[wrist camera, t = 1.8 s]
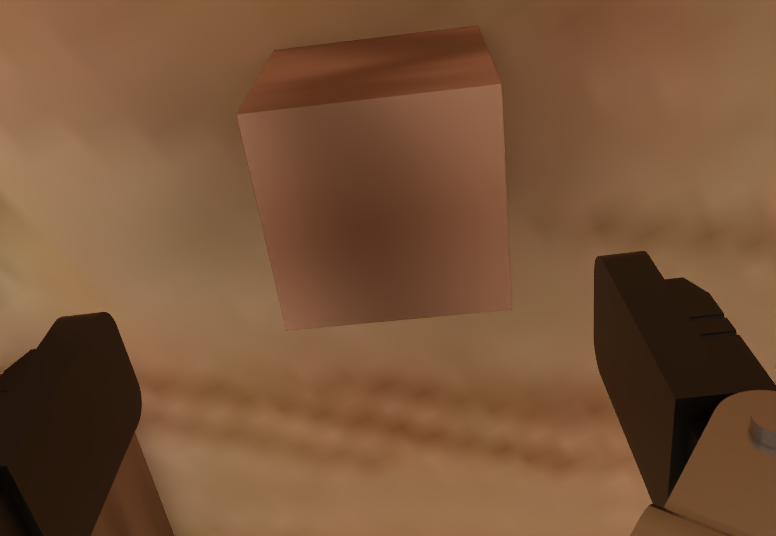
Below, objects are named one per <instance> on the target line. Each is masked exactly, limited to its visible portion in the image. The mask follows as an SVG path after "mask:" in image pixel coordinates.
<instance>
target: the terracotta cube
mask: <svg viewBox="0 0 776 536" xmlns="http://www.w3.org/2000/svg"><path fill="white" fill-rule="evenodd" d="M237 119H238V123H239V127H240V132H241V136H242V140H243V145H244V149H245V153H246V158H247V162H248V166H249V171H250V175H251V179H252V184H253V188H254V192H255V197H256V201H257V205H258V210H259V214H260V218H261V223H262V227H263V231H264V236H265V240H266V244H267V249H268V253H269V257H270V262H271V266H272V270H273V275H274V279H275V283H276V288H277V292H278V296H279V301H280V305H281V309H282V314H283V318H284V322H285V327H286V331H288V330H299V329H309V328H320V327H331V326H341V325H352V324H363V323H373V322H384V321H395V320H405V319H416V318H427V317H438V316H448V315H459V314H470V313H480V312H491V311H502V310H512V299H511V277H510V255H509V233H508V211H507V190H506V168H505V146H504V124H503V102H502V83H501V81H500V79H499V76H498V74H497V71H496V69H495V67H494V64H493V62H492V59H491V57H490V55H489V52H488V50H487V47H486V45H485V43H484V40H483V38H482V35H481V33H480V31H479V28H478V26H471V27H462V28H454V29H446V30H437V31H429V32H421V33H413V34H404V35H396V36H388V37H379V38H371V39H363V40H355V41H346V42H338V43H330V44H321V45H313V46H305V47H297V48H288V49H280V50H274V52H273V54H272V55H271V57H270V59H269V60H268V62H267V64H266V65H265V67H264V69H263V71H262V72H261V74H260V76H259V77H258V79H257V81H256V82H255V84H254V86H253V87H252V89H251V91H250V93H249V94H248V96H247V98H246V99H245V101H244V103H243V104H242V106H241V108H240V109H239V111H238V113H237Z"/></svg>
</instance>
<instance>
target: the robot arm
mask: <svg viewBox="0 0 776 536" xmlns="http://www.w3.org/2000/svg"><path fill="white" fill-rule="evenodd" d="M594 347H595V354H596V360H597V365H598V369H599V372H600V375H601V377H602V380H603V382H604V385H605V387H606V390H607V392H608V394H609V397H610V399H611V402H612V404H613V407H614V409H615V412H616V414H617V417H618V419H619V421H620V424H621V426H622V429H623V431H624V434H625V436H626V439H627V441H628V444H629V446H630V448H631V451H632V453H633V456H634V458H635V461H636V463H637V466H638V468H639V471H640V473H641V475H642V478H643V480H644V483H645V485H646V488H647V490H648V493H649V495H650V498H651V500H652V502H653V504H651V505H649V506H648V507H647V508H646V509H645V511H644V512H643V514H642V515H641V517H640V519H639V520H638V522H637V524H636V526H635V528H634V530H633V531H632V533H631V535H630V536H776V385H775V384H774V382H773V381H772V379H771V378H770V377H769V375H768V374H767V372H766V371H765V370H764V368H763V367H762V366H761V364H760V363H759V361H758V360H757V359H756V357H755V356H754V355H753V353H752V352H751V350H750V349H749V348H748V346H747V345H746V343H745V342H744V341H743V339H742V338H741V337H740V335H737V334H736V330H735V328H734V327H733V325H732V324H731V323H730V321H729V320H728V319H727V318H725V317H724V313H723V312H722V310H721V309H720V307H719V306H718V305H717V303H716V302H715V301H714V299H713V298H712V296H711V295H710V294H709V293H708V292H706V291H704V290H703V289H701V288H700V287H698V286H696V285H695V284H693V283H691V282H690V281H688V280H686V279H685V278H674V279H665V280H664V278H663V277H662V275H661V274H660V272H659V270H658V269H657V267H656V266H655V264H654V263H653V261H652V260H651V258H650V256H649V255H648V254H647V252H645V251H639V252H630V253H622V254H613V255H604V256H598V257H597V258H596V260H595V267H594ZM141 408H142V400H141V391H140V387H139V384H138V381H137V378H136V375H135V373H134V370H133V367H132V365H131V362H130V360H129V357H128V354H127V352H126V349H125V346H124V344H123V341H122V338H121V336H120V333H119V330H118V328H117V325H116V323H115V321H114V319H113V318H112V316H111V315H110V314H109V313H107V312H99V313H91V314H82V315H73V316H65V317H60V318H58V319H57V320H56V321H55V323H54V324H53V326H52V327H51V328H50V330H49V331H48V333H47V334H46V336H45V337H44V339H43V340H42V342H41V343H40V344H39V346H38V347H37V349H33V350H30V351H29V352H28V353H26V354H25V355H24V356H23V357H21V358H20V359H19V360H18V361H16V362H15V363H14V364H13V365H11V366H10V367H9V368H7V369H6V370H5V371H4V373H3V374H2V375H1V377H0V536H91V534H92V532H93V529H94V527H95V524H96V522H97V520H98V517H99V515H100V513H101V510H102V508H103V506H104V503H105V501H106V499H107V496H108V494H109V491H110V489H111V487H112V484H113V482H114V480H115V477H116V475H117V473H118V470H119V468H120V465H121V463H122V461H123V458H124V456H125V454H126V451H127V449H128V447H129V444H130V442H131V440H132V437H133V435H134V432H135V430H136V428H137V425H138V423H139V420H140V416H141Z"/></svg>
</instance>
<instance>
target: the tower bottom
mask: <svg viewBox="0 0 776 536" xmlns="http://www.w3.org/2000/svg"><path fill="white" fill-rule="evenodd" d="M1 375H2V374H1ZM1 375H0V377H1ZM91 536H174V534H173V531H172V529H171V526H170V524H169V521H168V518H167V516H166V513H165V510H164V508H163V505H162V503H161V500H160V497H159V495H158V492H157V489H156V487H155V484H154V482H153V479H152V476H151V474H150V471H149V468H148V466H147V463H146V461H145V458H144V455H143V453H142V450H141V447H140V445H139V442H138V440H137V437H136V434H135V432H134V435H133V437H132V440H131V442H130V444H129V447H128V449H127V451H126V454H125V456H124V458H123V461H122V463H121V465H120V468H119V470H118V473H117V475H116V477H115V480H114V482H113V484H112V487H111V489H110V491H109V494H108V496H107V499H106V501H105V503H104V506H103V508H102V510H101V513H100V515H99V517H98V520H97V522H96V524H95V527H94V529H93V532H92V534H91Z"/></svg>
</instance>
